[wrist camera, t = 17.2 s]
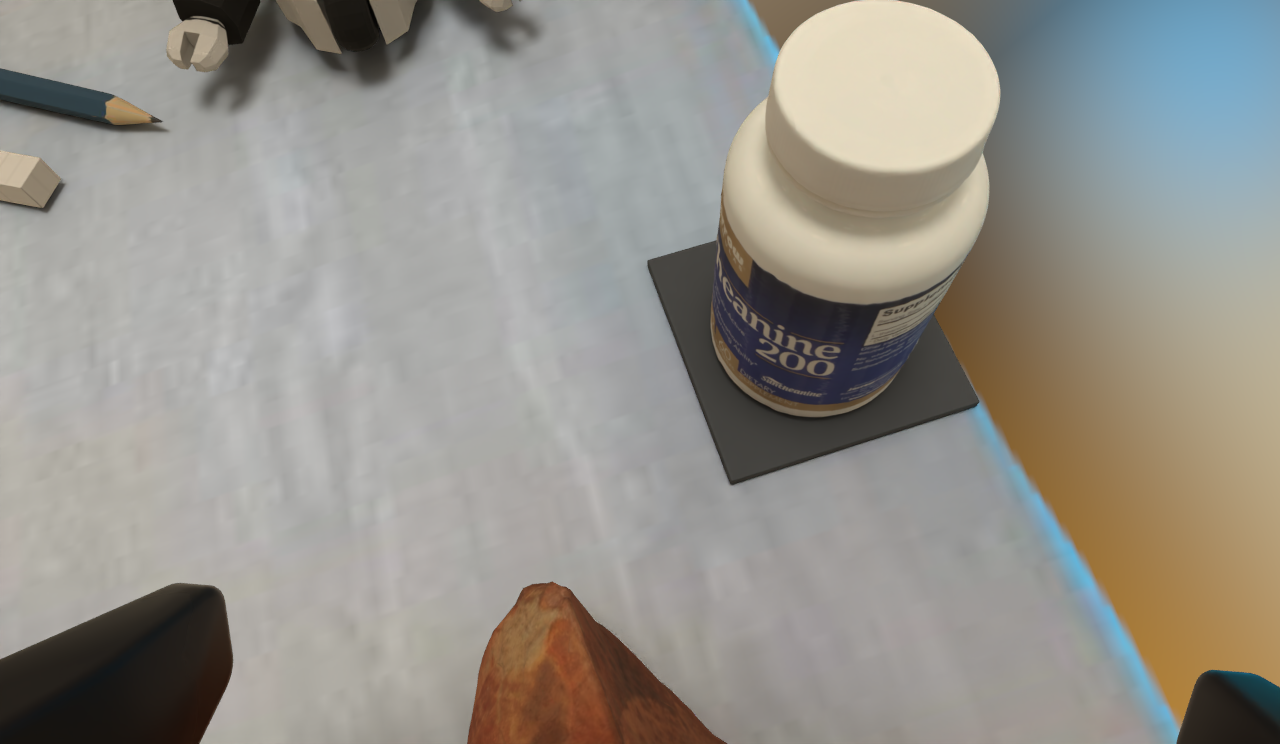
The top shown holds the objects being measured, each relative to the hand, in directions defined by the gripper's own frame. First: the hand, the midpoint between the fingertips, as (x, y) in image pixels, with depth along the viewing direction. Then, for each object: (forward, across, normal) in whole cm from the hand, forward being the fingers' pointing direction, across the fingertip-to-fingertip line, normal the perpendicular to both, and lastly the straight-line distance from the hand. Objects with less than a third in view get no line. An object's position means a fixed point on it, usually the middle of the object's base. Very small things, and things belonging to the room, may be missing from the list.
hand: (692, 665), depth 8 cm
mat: (+17, -3, +2) cm, 17 cm away
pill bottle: (+17, -3, +2) cm, 17 cm away
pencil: (+23, +32, -4) cm, 40 cm away
